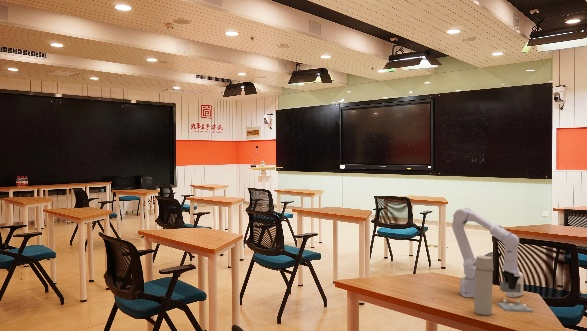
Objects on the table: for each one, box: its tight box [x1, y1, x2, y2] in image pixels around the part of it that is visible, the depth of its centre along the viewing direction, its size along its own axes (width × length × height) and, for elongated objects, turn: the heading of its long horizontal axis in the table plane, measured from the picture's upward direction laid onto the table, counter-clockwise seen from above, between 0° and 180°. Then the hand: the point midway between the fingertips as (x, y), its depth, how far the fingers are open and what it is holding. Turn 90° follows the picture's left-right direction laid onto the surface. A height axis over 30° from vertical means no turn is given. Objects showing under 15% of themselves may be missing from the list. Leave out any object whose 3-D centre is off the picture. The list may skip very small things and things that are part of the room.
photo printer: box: [505, 271, 525, 298], centre depth 224 cm, size 10×4×12 cm, turn 123°
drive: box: [499, 280, 521, 293], centre depth 211 cm, size 8×4×4 cm, turn 86°
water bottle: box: [473, 255, 495, 317], centre depth 196 cm, size 9×8×25 cm
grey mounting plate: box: [496, 298, 533, 313], centre depth 203 cm, size 12×9×3 cm
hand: (510, 287), depth 211 cm, fingers closed on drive, 4 cm apart
